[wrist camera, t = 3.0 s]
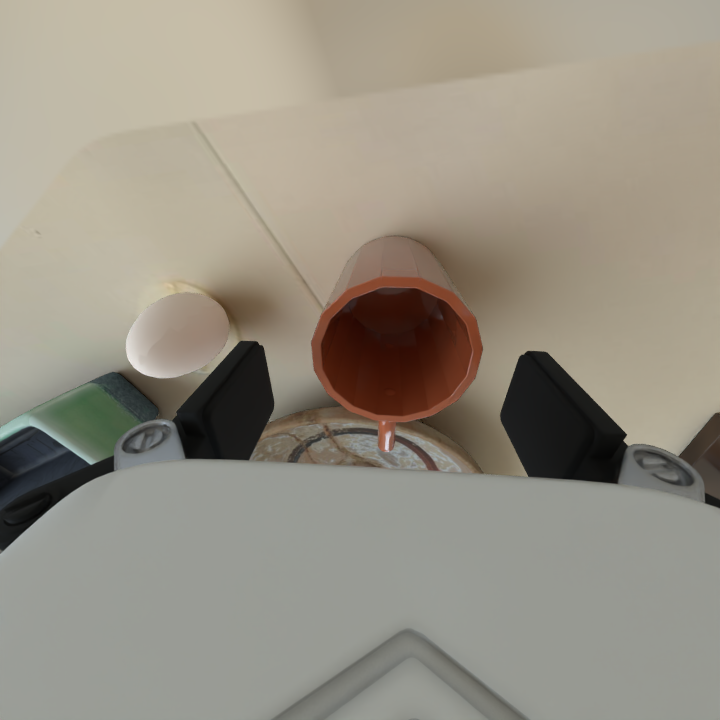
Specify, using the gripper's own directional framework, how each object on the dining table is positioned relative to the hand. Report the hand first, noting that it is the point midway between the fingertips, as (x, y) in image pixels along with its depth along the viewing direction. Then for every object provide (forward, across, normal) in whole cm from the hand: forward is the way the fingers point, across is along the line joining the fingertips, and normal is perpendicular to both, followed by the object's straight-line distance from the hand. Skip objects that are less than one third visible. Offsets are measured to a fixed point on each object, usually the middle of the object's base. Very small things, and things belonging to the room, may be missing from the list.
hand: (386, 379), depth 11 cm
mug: (+10, 0, +2) cm, 10 cm away
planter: (+11, +32, +16) cm, 38 cm away
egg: (+11, +13, +2) cm, 17 cm away
